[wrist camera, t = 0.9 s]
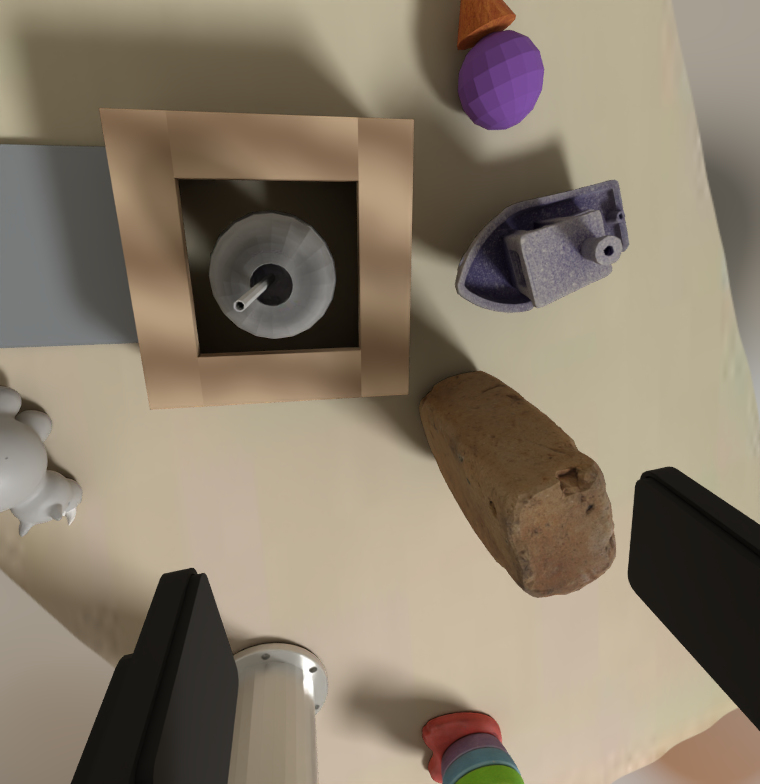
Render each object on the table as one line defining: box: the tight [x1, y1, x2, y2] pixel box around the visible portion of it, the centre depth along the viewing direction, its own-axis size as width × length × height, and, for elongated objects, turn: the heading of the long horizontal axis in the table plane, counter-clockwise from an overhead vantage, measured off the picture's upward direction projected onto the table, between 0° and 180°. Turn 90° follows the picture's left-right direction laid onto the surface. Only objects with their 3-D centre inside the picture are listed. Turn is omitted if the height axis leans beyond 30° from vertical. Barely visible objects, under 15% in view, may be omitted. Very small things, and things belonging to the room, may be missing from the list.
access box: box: [99, 108, 414, 410], centre depth 35 cm, size 18×18×8 cm
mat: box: [0, 144, 139, 348], centre depth 35 cm, size 14×14×1 cm
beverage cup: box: [208, 210, 337, 339], centre depth 29 cm, size 7×7×20 cm
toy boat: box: [455, 180, 629, 313], centre depth 36 cm, size 15×8×13 cm, turn 111°
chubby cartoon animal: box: [0, 386, 82, 537], centre depth 37 cm, size 7×12×8 cm, turn 22°
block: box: [419, 371, 616, 598], centre depth 37 cm, size 11×8×20 cm
